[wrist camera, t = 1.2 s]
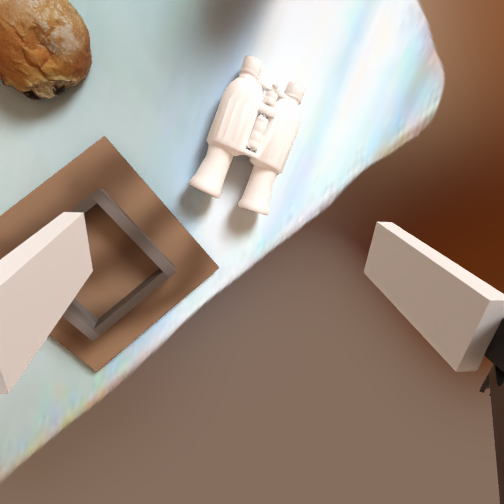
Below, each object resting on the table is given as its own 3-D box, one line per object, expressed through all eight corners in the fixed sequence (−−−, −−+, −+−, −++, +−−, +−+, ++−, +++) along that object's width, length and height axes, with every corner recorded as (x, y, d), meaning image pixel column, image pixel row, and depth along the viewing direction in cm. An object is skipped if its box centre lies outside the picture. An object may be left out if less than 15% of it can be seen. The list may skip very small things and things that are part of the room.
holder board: (-45, 253, 33) (-71, 262, 29) (105, 137, 35) (99, 131, 31) (98, 367, 40) (91, 386, 36) (217, 266, 41) (223, 274, 38)
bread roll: (107, 54, 36) (106, -12, 29) (72, 125, 33) (62, 69, 26) (9, 5, 33) (-19, -83, 26) (-40, 78, 30) (-87, 0, 22)
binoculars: (186, 186, 38) (189, 186, 34) (231, 58, 37) (241, 41, 32) (260, 215, 42) (272, 219, 38) (304, 100, 40) (322, 90, 36)
